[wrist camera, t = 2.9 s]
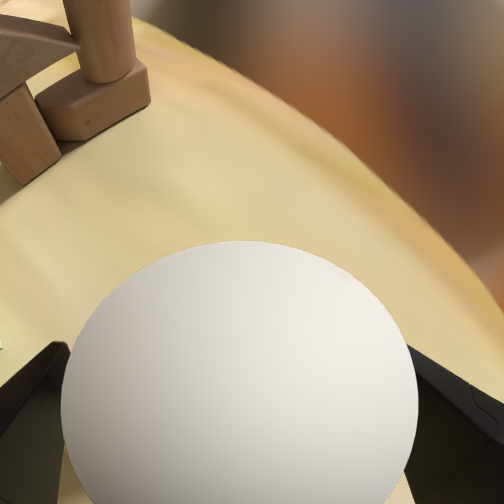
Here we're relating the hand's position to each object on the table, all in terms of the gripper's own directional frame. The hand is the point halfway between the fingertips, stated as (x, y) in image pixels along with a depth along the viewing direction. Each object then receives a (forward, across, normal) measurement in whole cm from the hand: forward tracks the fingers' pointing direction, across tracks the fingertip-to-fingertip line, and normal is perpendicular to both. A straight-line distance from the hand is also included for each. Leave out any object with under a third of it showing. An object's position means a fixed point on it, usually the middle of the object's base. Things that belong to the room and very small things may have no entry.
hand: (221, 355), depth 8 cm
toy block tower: (+16, +9, -5) cm, 19 cm away
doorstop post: (+5, 0, +6) cm, 8 cm away
